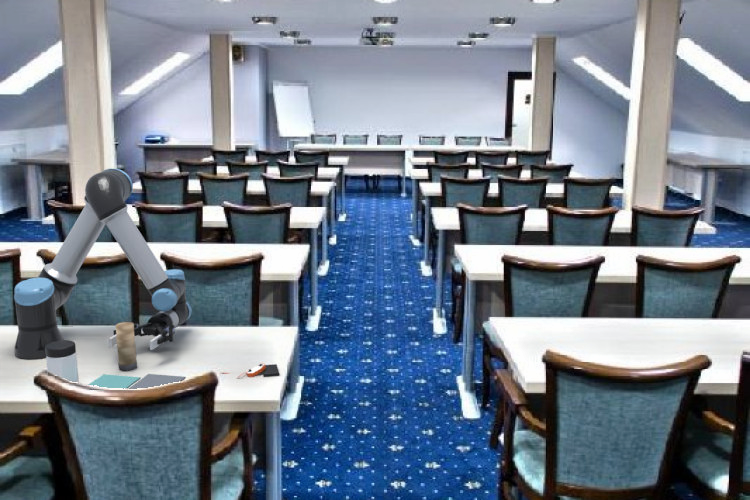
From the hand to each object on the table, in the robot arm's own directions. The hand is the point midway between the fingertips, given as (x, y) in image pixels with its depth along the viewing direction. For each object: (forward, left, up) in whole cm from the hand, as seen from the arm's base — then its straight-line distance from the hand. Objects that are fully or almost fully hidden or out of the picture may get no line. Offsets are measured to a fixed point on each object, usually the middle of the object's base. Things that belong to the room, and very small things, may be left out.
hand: (130, 344), depth 234 cm
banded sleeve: (-1, -1, -7) cm, 8 cm away
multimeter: (+38, 0, -8) cm, 39 cm away
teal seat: (+1, -14, -7) cm, 16 cm away
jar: (-13, -16, -8) cm, 22 cm away
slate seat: (+14, -11, -7) cm, 20 cm away
